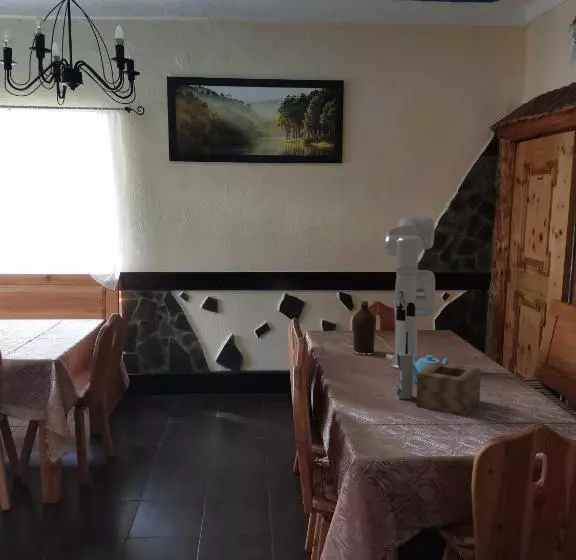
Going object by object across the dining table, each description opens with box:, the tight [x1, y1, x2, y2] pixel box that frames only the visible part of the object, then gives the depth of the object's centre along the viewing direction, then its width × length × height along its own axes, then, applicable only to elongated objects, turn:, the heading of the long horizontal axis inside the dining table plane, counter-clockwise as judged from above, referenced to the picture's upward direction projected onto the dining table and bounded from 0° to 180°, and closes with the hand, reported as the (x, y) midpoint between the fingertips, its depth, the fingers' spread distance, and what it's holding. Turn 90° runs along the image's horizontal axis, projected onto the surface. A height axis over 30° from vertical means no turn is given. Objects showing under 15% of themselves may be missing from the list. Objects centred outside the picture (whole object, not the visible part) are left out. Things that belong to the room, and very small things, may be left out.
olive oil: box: [352, 300, 377, 354], centre depth 284 cm, size 11×11×25 cm
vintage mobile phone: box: [395, 332, 414, 400], centre depth 220 cm, size 4×5×25 cm
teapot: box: [413, 354, 450, 384], centre depth 240 cm, size 15×15×11 cm
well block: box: [416, 362, 482, 417], centre depth 214 cm, size 18×18×12 cm
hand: (405, 318), depth 217 cm, fingers open, 9 cm apart
